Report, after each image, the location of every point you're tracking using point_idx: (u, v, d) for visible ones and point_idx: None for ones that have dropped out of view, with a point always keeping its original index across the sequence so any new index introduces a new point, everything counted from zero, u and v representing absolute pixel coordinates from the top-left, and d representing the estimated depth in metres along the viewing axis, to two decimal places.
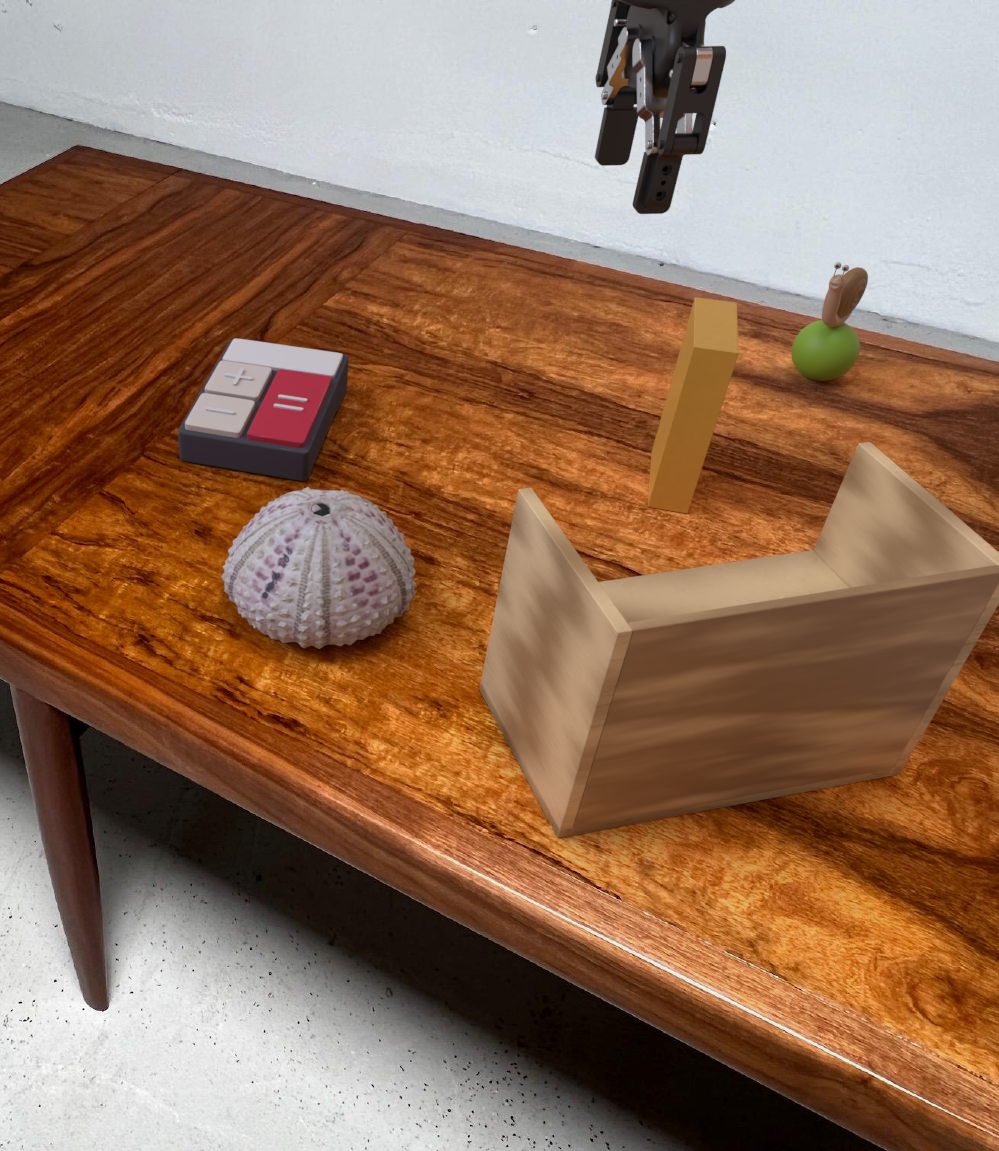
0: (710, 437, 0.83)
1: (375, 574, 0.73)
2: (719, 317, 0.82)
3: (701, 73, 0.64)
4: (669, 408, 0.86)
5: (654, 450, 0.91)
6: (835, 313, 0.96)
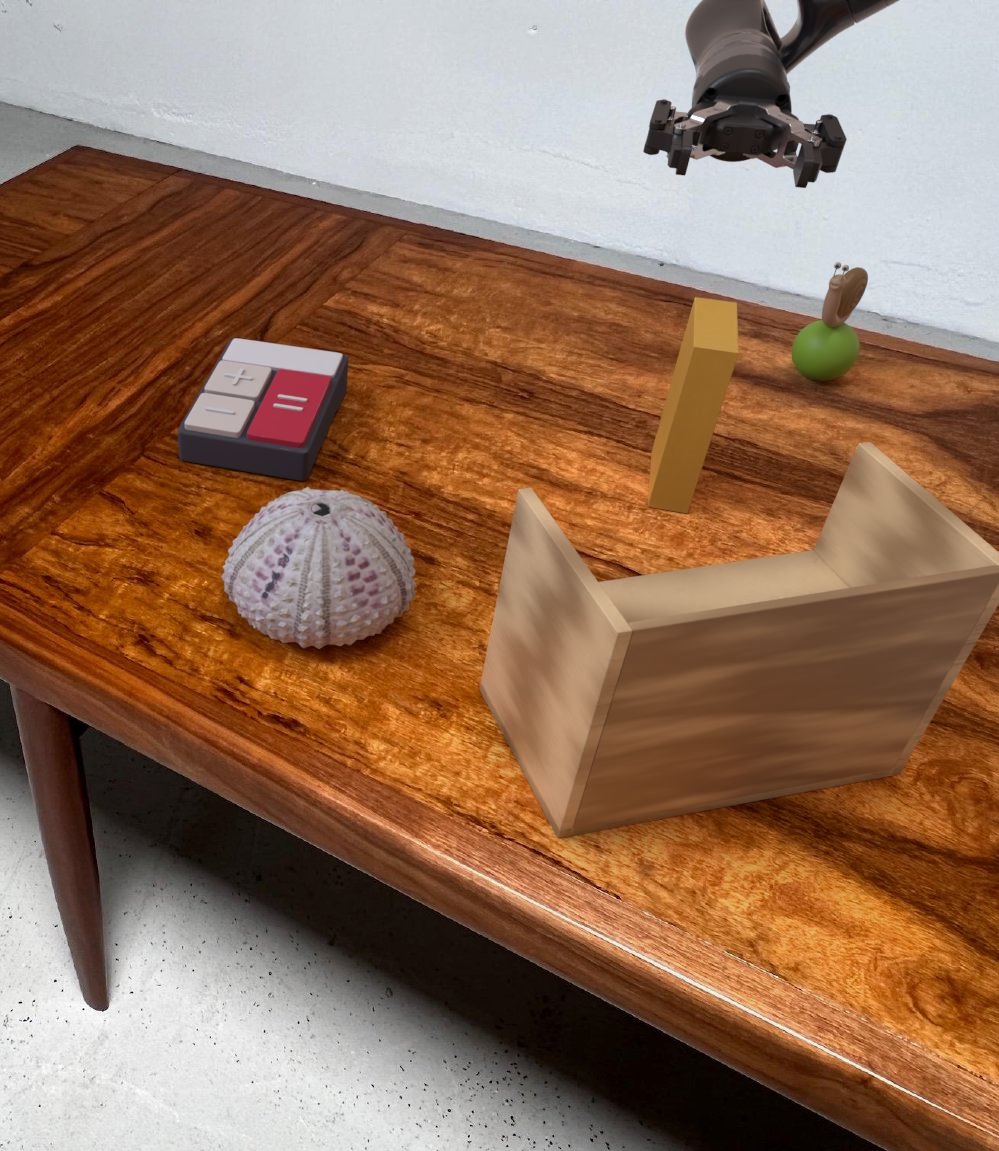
0: (710, 437, 0.83)
1: (375, 574, 0.73)
2: (719, 317, 0.82)
3: None
4: (669, 408, 0.86)
5: (654, 450, 0.91)
6: (835, 313, 0.96)
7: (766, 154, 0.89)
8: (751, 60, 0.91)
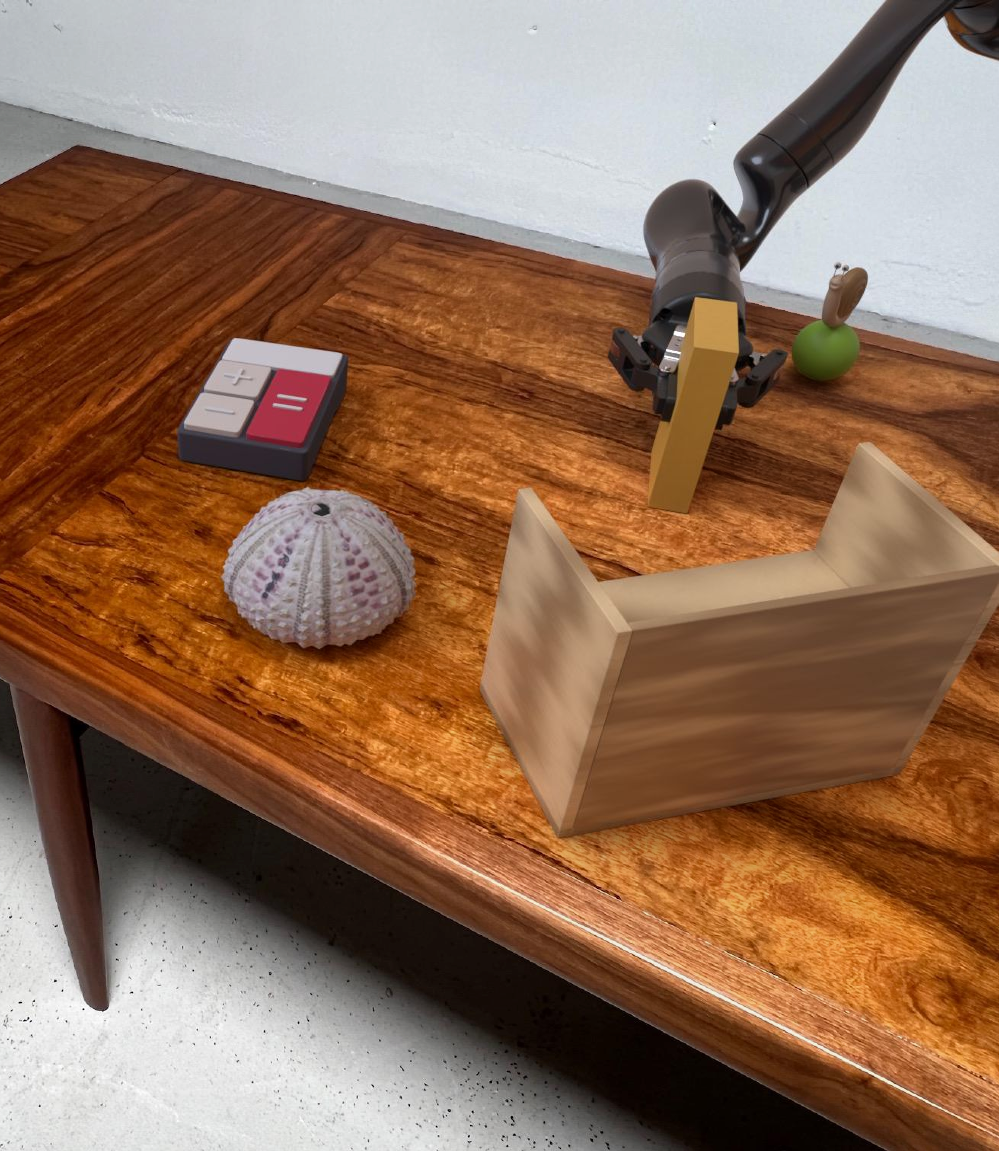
0: (710, 437, 0.83)
1: (375, 574, 0.73)
2: (719, 317, 0.82)
3: (778, 372, 0.88)
4: None
5: (654, 450, 0.91)
6: (835, 313, 0.96)
7: None
8: (706, 280, 0.92)
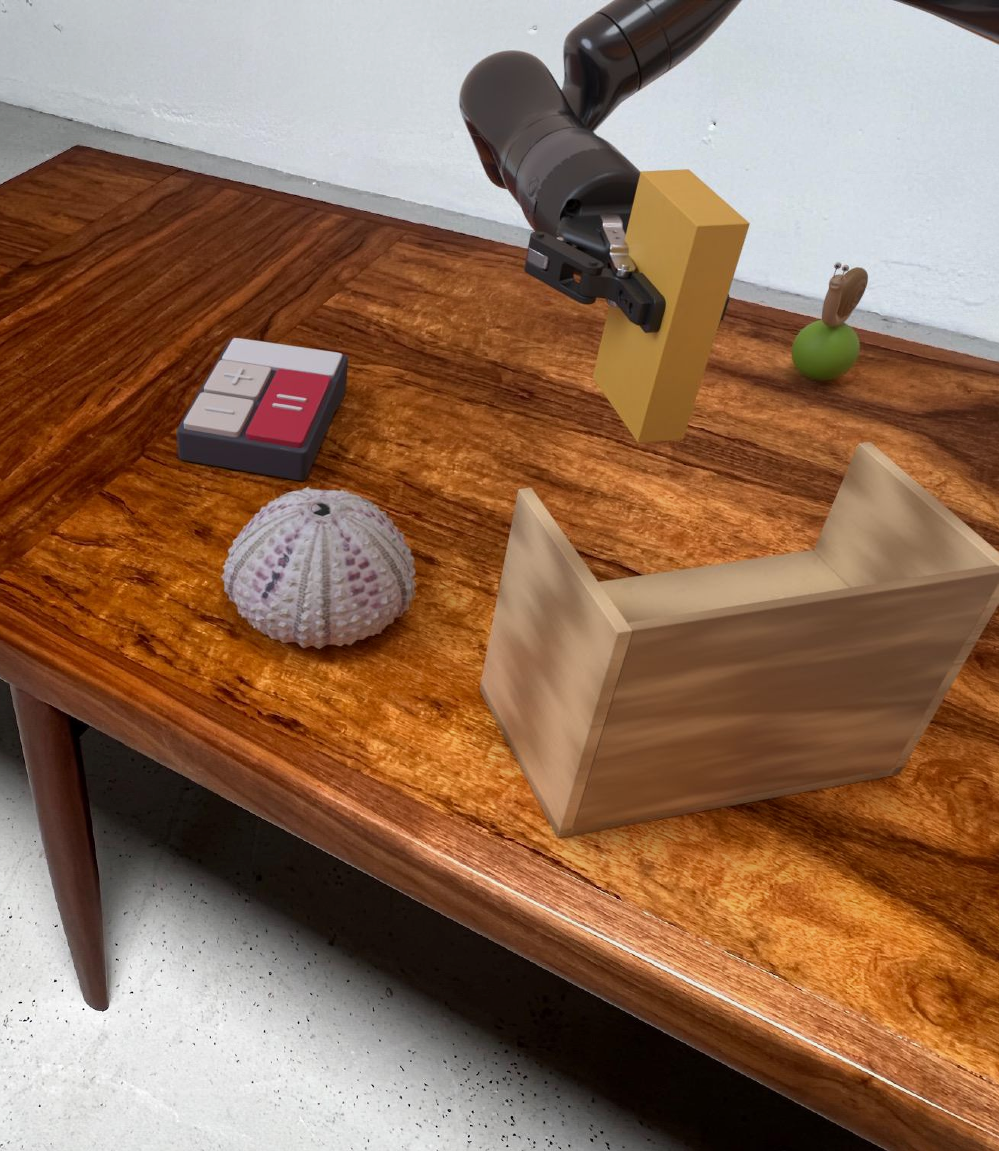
0: (713, 339, 0.66)
1: (375, 574, 0.73)
2: (689, 188, 0.65)
3: None
4: None
5: (607, 373, 0.74)
6: (835, 313, 0.96)
7: None
8: (604, 158, 0.75)
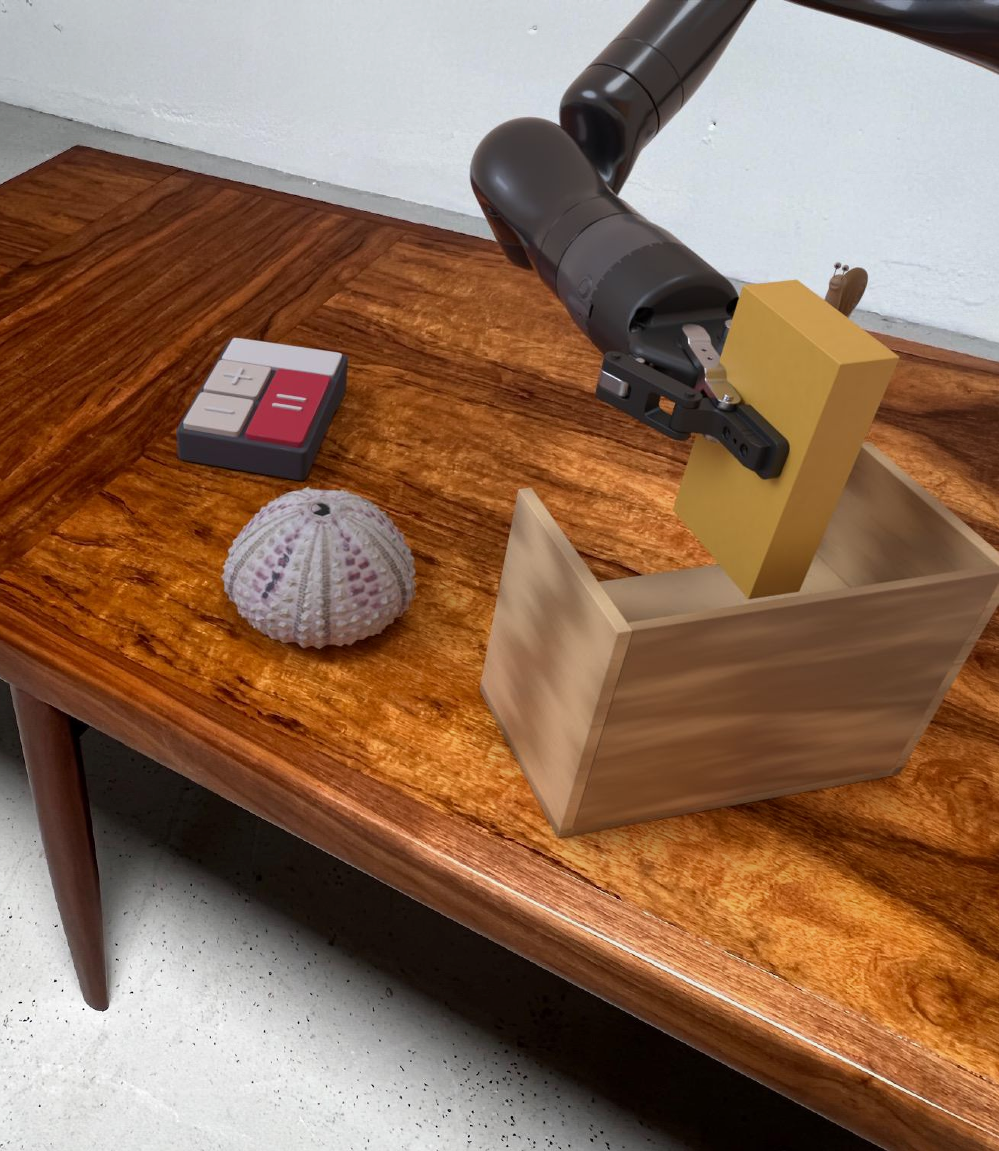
0: (844, 484, 0.55)
1: (375, 574, 0.73)
2: (808, 308, 0.54)
3: None
4: None
5: (696, 510, 0.63)
6: None
7: None
8: (674, 256, 0.64)
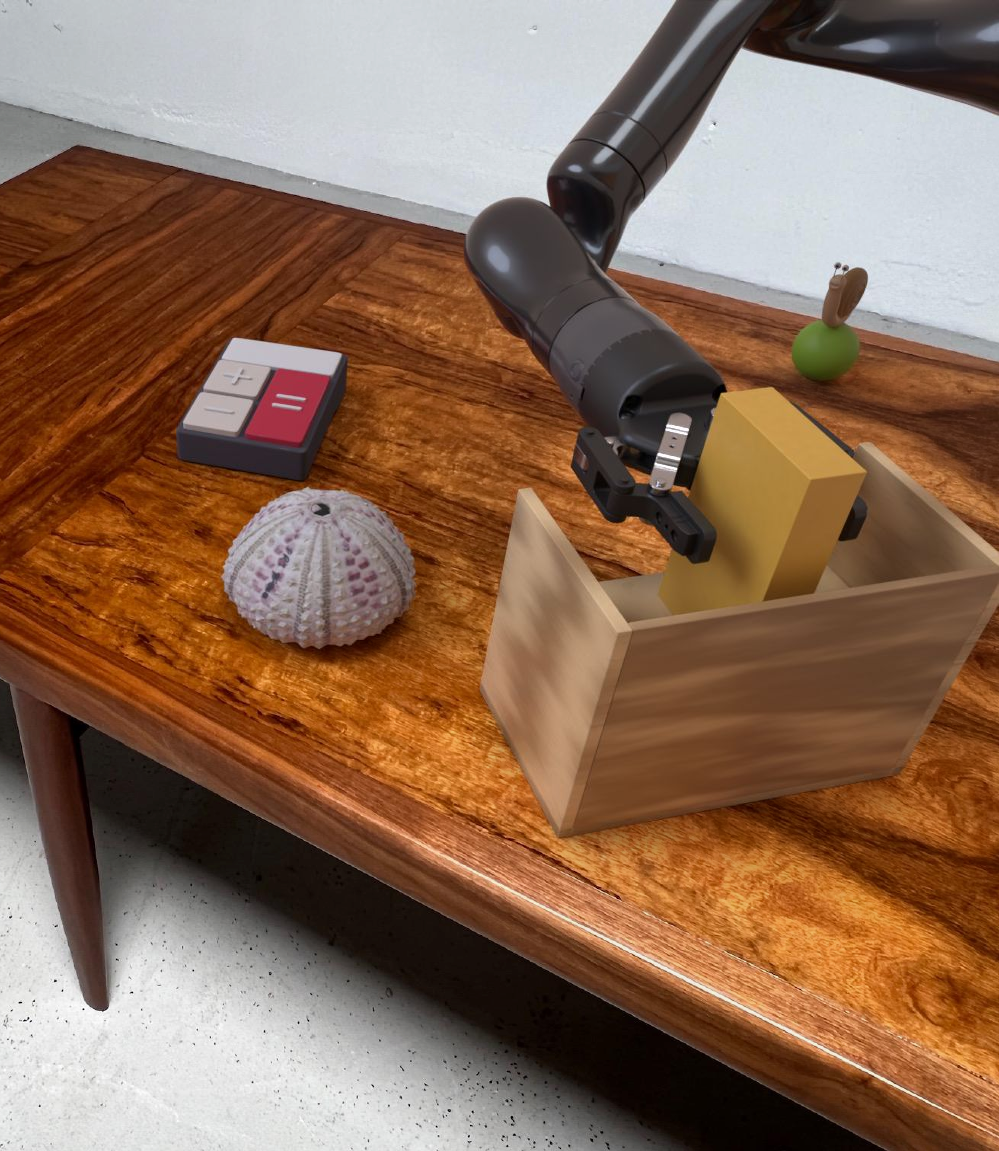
0: (817, 583, 0.58)
1: (375, 574, 0.73)
2: (782, 418, 0.57)
3: None
4: (723, 550, 0.60)
5: (679, 597, 0.65)
6: (835, 313, 0.96)
7: None
8: (662, 344, 0.66)
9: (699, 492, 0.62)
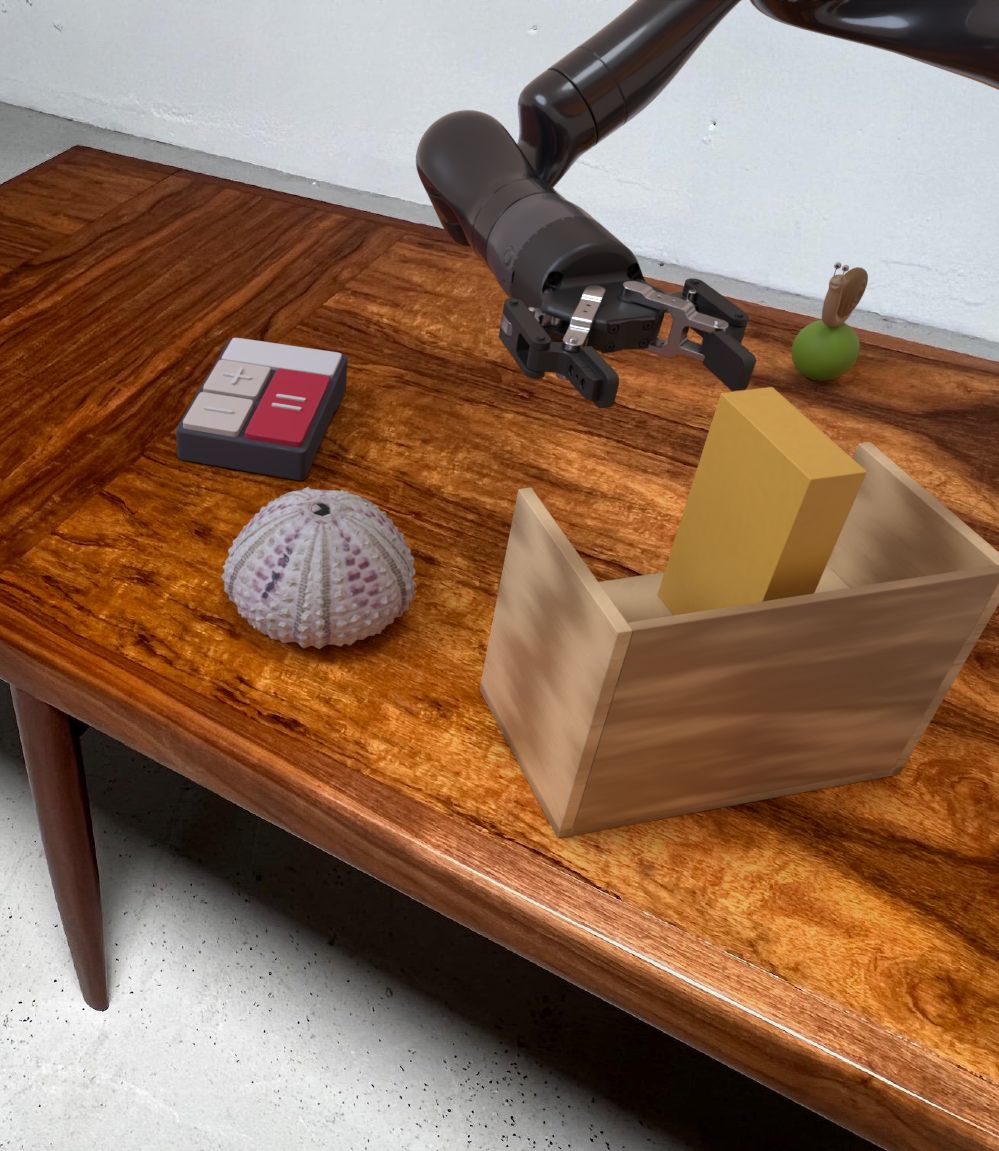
0: (817, 583, 0.58)
1: (375, 574, 0.73)
2: (782, 418, 0.57)
3: None
4: (723, 550, 0.60)
5: (679, 597, 0.65)
6: (835, 313, 0.96)
7: None
8: (582, 227, 0.73)
9: (699, 492, 0.62)
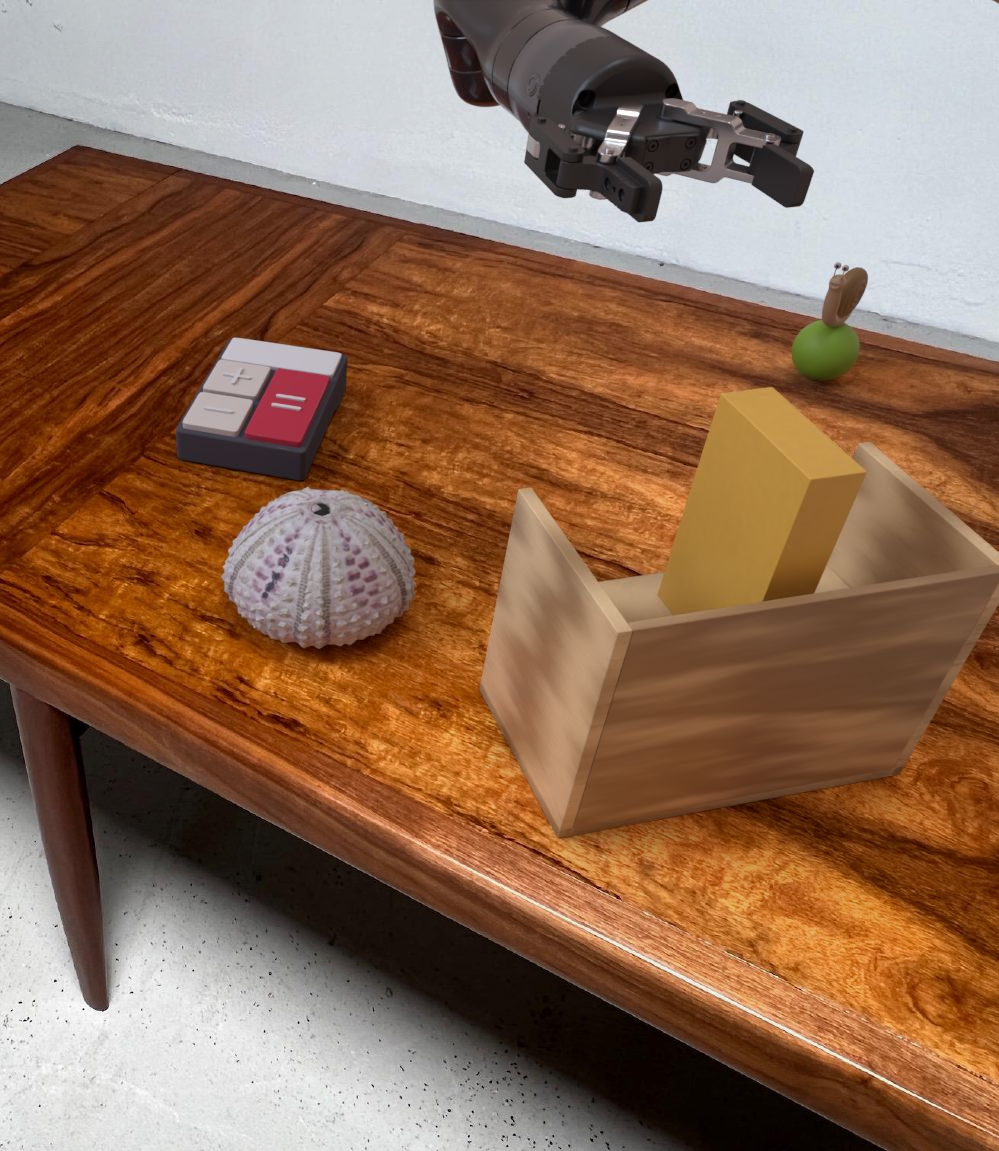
0: (817, 583, 0.58)
1: (375, 574, 0.73)
2: (782, 418, 0.57)
3: None
4: (723, 550, 0.60)
5: (679, 597, 0.65)
6: (835, 313, 0.96)
7: None
8: (615, 44, 0.66)
9: (699, 492, 0.62)
